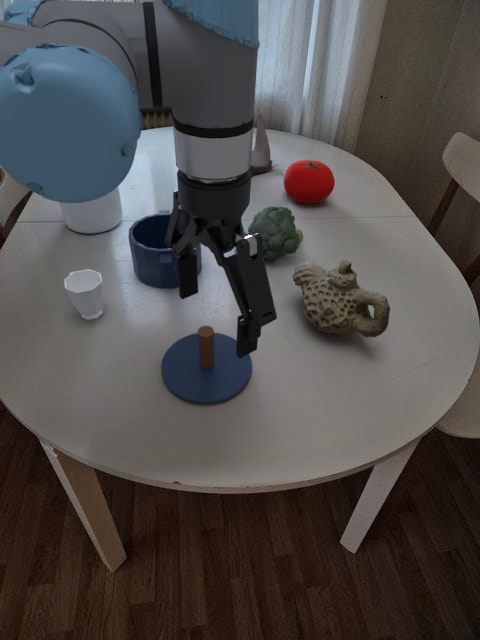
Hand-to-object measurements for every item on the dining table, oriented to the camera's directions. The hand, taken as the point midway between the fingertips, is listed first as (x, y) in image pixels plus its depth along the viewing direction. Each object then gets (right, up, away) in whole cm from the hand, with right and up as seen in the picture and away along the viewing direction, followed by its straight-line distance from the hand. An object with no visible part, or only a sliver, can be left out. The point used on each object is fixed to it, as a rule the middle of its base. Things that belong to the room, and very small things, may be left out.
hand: (215, 321), depth 58 cm
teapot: (+21, -1, +26) cm, 34 cm away
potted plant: (+3, +50, +79) cm, 93 cm away
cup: (-27, +2, +28) cm, 38 cm away
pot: (-13, +12, +38) cm, 42 cm away
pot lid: (-2, -8, +17) cm, 19 cm away
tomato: (+22, +34, +64) cm, 76 cm away
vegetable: (+12, +16, +44) cm, 48 cm away
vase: (-34, +25, +52) cm, 67 cm away
